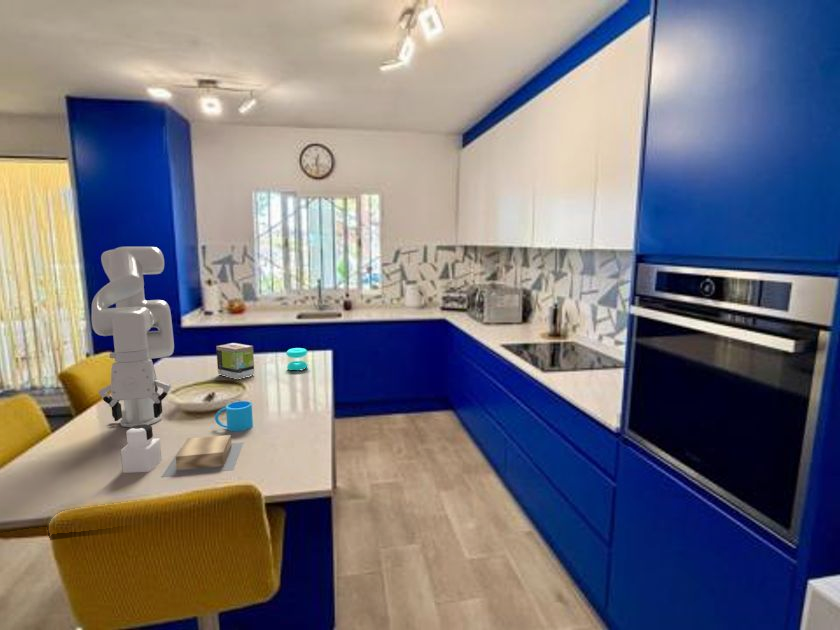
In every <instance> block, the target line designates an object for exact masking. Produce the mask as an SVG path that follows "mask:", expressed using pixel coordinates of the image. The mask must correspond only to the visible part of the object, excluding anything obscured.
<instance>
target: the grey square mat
mask: <svg viewBox="0 0 840 630" xmlns="http://www.w3.org/2000/svg"><path fill="white" fill-rule="evenodd" d="M231 445H232V448H231V450H230V452H229V455H228V457H227V460H226V462H225V464H224V466H217V467H207V468H197V469H187V470H177V466H176V455H177V454H178V452H179V451H180V449H181V448H182V447H180V448H179V450H178V451H177V452H176V454H175V456H174V457H173V458H172V460H171V462H170V463H169V464H168V466H167V467H166V469H165V471H164V472H163V474H162V475H161V478H166V477H178V476H187V475H189V476H190V475H198V474H208V473H215V472H216V473H217V472H224V471H225V472H227V471H234V470H235V468H236V465H237V461H238V460H239V456H240V453H241V451H242V448H243V445H244V442H234V443H233V442H231Z"/></svg>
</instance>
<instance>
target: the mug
mask: <svg viewBox="0 0 840 630" xmlns="http://www.w3.org/2000/svg"><path fill="white" fill-rule="evenodd" d="M224 411H225V414H226V415H225V416H226V424H224V423H222V422H220V420H219V415H220V414H221V413H222V412H224ZM214 416H215V417H214V419H215V423H216V424H217V425H218V426H219V427H221V428H226V430H228V431H230V432H242V431H245V430H249V429H251V428H254V420H253V419H254V418H253V405H252V402H251V401H247V400H237V401H234V402H230V403H228V404H226V406H225V407H223V408H221V409H219V410H218V411H216V413H215V415H214Z"/></svg>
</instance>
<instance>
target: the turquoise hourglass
mask: <svg viewBox="0 0 840 630" xmlns="http://www.w3.org/2000/svg"><path fill="white" fill-rule="evenodd" d="M285 354H286V356H287V357H289V358H291V359H300V358H303V357H305V356H307V355H308V351H307V349H306V348H301V347H295V348H294V347H293V348H290V349H288V350H287V351H286V353H285ZM308 365H309V364H308V363H307V362H306V361H303V360H294V361H291V362H290V361H289V363H288V364H287V366H286V367H287V370H288V369H289V371H290V370H300V369H304V368H306V367H307V366H308ZM307 368H308V367H307ZM307 368H306V369H307Z"/></svg>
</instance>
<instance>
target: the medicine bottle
mask: <svg viewBox="0 0 840 630" xmlns="http://www.w3.org/2000/svg"><path fill="white" fill-rule="evenodd" d="M125 432H126V441H127V442H126V443H127V444H126V445H125V446H124V447H123V448H121V449H120V457H121V459H120V460H121V467H122V468H121V469H122V473H123V474H126V473H148V472H151V471H153V469H155V468H156V467H157V466H158V464H159V463H161V462H162V460H163V458H162V457H163V456H162V448H161V447H162V446H161V438H157V437H155V438H154V433H153V432H154V431H153V426H152V425H151V424H150V425H146V424H141V425H136V426H133V427H128V429H126V431H125Z"/></svg>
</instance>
